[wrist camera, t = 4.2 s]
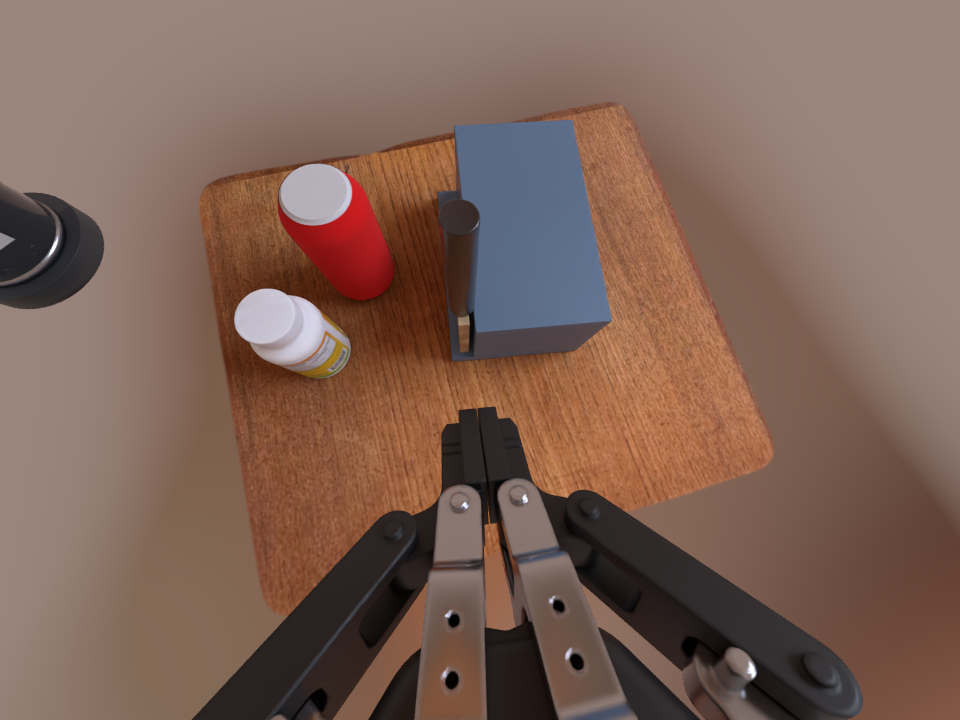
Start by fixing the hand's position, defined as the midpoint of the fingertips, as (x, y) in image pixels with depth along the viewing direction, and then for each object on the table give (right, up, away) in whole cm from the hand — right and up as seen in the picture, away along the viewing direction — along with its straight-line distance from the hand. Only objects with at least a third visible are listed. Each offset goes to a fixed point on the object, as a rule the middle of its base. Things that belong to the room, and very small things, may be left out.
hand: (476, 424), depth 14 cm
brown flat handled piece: (-2, +7, +19) cm, 20 cm away
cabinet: (+4, +12, +21) cm, 24 cm away
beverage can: (-11, +11, +20) cm, 26 cm away
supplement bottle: (-15, +3, +19) cm, 24 cm away
